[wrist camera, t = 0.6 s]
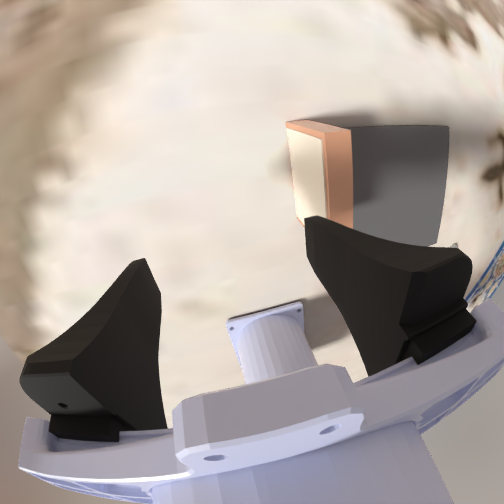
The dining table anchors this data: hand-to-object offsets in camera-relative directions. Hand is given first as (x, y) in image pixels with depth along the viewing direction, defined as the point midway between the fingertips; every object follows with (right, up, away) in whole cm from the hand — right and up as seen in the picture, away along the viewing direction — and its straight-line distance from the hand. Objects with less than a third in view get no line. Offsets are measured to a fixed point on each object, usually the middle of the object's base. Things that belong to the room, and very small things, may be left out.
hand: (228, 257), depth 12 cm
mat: (+15, +6, +11) cm, 20 cm away
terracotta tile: (+5, +6, +8) cm, 12 cm away
